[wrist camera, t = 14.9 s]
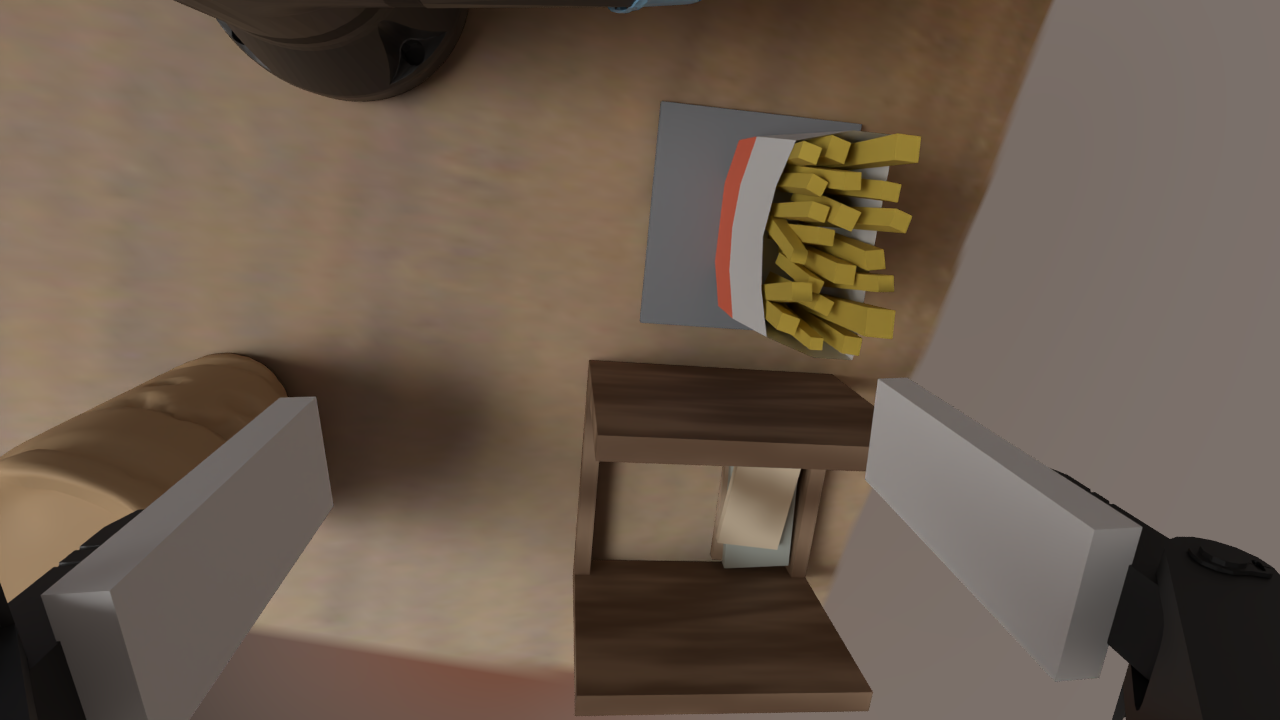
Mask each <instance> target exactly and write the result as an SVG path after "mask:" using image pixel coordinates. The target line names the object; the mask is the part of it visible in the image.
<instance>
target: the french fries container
mask: <svg viewBox="0 0 1280 720" xmlns="http://www.w3.org/2000/svg"><path fill="white" fill-rule="evenodd" d="M920 142H921V137H920V136H913V135H905V134H898V133H897V134H893V135H891V134H882V133H872V132H863V131H854V130H853V131H837V132H821V133H805V134H789V135H773V136H757V137H752V138H747V139H742V140H739V142H738V145H737V148H736V151H735V154H734V157H733V160H732V163H731V166H730V169H729V172H728V175H727V178H726V180H725V184H724V192H723V200H722V208H721V217H720V225H719V233H718V241H717V249H716V258H715V269H716V282H717V296H718V306H719V307H720V308H721V309H722V310H723V311H725V312H726V313H727V314H728V315H729V316H730V317H731V318H733V319H734V320H736V321H738V322H740V323H742V324H744V325H746V326H747V327H749V328H751V329H753V330H755V331H757V332H758V333H760V334H762V335H764V336H766V337H768V338H770V339H772V340H775V341H777V342H779V343H782V344H784V345H786V346H788V347H791V348H793V349H795V350H798V351H800V352H802V353H804V354H807V355H809V356H811V357H813V358H827V359H843V360H853V355H857V356H859V353H860V348H861V343H862V338H861V337H859V336H857V334H861V335H863V336H867V337H877V338H886V339H892V337H893V328H894V319H895V310H890V309H886V308H882V307H878V306H873V305H869V304H865V303H863V302H864V297H865V292H866V291H872V292H894V276H893V275H883V274H873V273H869V271H870V270H879V269H886V268H885V258H884V249H881V248H878V247H875V246H874V245H875V239H876V234H877V231H884V232H896V233H906V231H907V228H908V226H909V223H910V221H911V218H912V216H911V215H909V214H907V213H905V212H903V211H900V210H898V209H893V208H882V203H883V201H889V202H897V203H898V198H899V194H900V189H901V185H902V184H897V183H892V182H888V181H887V176H888V171H889V166H893V165H902V164H912V163H918V159H919V150H920Z"/></svg>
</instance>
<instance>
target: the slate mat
mask: <svg viewBox="0 0 1280 720" xmlns="http://www.w3.org/2000/svg"><path fill="white" fill-rule="evenodd" d="M861 126H862V124H854V123H846V122H837V121H828V120H820V119H811V118H802V117H794V116H785V115H776V114H768V113H759V112H751V111H742V110H733V109H725V108H716V107H707V106H699V105H690V104H681V103H673V102H664V101H662V102H661V104H660V115H659V125H658V136H657V146H656V157H655V167H654V177H653V188H652V198H651V209H650V219H649V230H648V240H647V250H646V261H645V271H644V282H643V292H642V303H641V313H640V322H641V323H655V324H670V325H685V326H700V327H714V328H729V329H744V330H753V329H751V328H749V327H747V326H746V325H744V324H742V323H740V322H738V321H736V320H734V319H733V318H731V317H730V316H729V315H728V314H727V313H726V312H725V311H723V310H722V309H721V308H720V307H719V306H718V296H717V282H716V269H715V258H716V249H717V241H718V233H719V225H720V217H721V208H722V200H723V192H724V184H725V180H726V178H727V175H728V172H729V169H730V166H731V163H732V160H733V157H734V154H735V151H736V148H737V145H738V142H739V140H742V139H747V138H752V137H757V136H773V135H789V134H805V133H821V132H837V131H853V130H854V131H861Z"/></svg>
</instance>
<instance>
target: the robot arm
mask: <svg viewBox="0 0 1280 720" xmlns="http://www.w3.org/2000/svg"><path fill="white" fill-rule="evenodd" d="M174 1H177V2H179V3H181V4H184V5H186V6H188V7H191V8H193V9H195V10H198V11H200V12H202V13H205V14H207V15H209V16H212V17H214V18H216V19H217V21H218V22H219V24H220V25H221V26H222V28H223V29H224V30H225V32H226V33H227V34H228V35H229V37H230V38H231V39H232V40H233V41H234V42H235V43H236V44H237V45H238V46H239V48H240V49H241V50H243V51H244V52H245V53H246V54H247V55H248V56H249V57H250V58H251V59H253V60H254V61H255V62H256V63H258V64H259V65H260V66H262V67H263V68H264V69H266V70H267V71H269V72H270V73H272V74H273V75H275V76H277V77H278V78H280V79H282V80H284V81H285V82H287V83H289V84H292V85H294V86H296V87H298V88H301V89H304V90H306V91H309V92H312V93H315V94H319V95H322V96H325V97H329V98H333V99H338V100H345V101H374V100H380V99H385V98H389V97H393V96H396V95H399V94H401V93H404V92H406V91H408V90H410V89H412V88H414V87H416V86H417V85H419V84H420V83H422V82H423V81H425V80H426V79H427V78H428V77H430V76H431V75H432V74H433V73H434V72H435V71H436V70H437V69H438V68H439V67H440V66H441V65H442V64H443V63H444V61H445V60H446V59H447V57H448V56H449V55H450V53H451V52H452V50H453V48H454V47H455V45H456V43H457V41H458V39H459V37H460V34H461V32H462V30H463V27H464V24H465V21H466V17H467V13H468V8H540V7H608V9H609V10H611V11H612V12H616V13H630V12H631V11H635V10H639V9H641V8H642V7H650V6H668V5H686V4H693V3H696V2H699V1H701V0H174ZM865 480H866V481H867V482H868V483H869V484H870V485H871V486H872V487H873V488H874V489H875V491H877V493H878V494H879V495H880V496H881V497H882V498H883V499H884V500H885V501H886V502H887V503H888V504H889V505H890V506H891V508H892V509H893V510H894V511H895V512H896V513H897V514H898V515H899V516H900V517H901V518H902V519H903V520H904V521H905V523H906V524H907V525H908V526H909V527H910V528H911V529H912V530H913V531H914V532H915V533H916V534H917V535H918V536H919V537H920V538H921V540H922V541H923V542H924V543H925V544H926V545H927V546H928V547H929V548H930V549H931V550H932V551H933V552H934V553H935V555H936V556H937V557H938V558H939V559H940V560H941V561H942V562H943V563H944V564H945V565H946V566H947V567H948V568H949V569H950V571H951V572H952V573H953V574H954V575H955V576H956V577H957V578H958V579H959V580H960V581H961V582H962V583H963V584H964V585H965V586H966V588H967V589H968V590H969V591H970V592H971V593H972V594H973V595H974V596H975V597H976V598H977V599H978V600H979V601H980V602H981V604H982V605H983V606H984V607H985V608H986V609H987V610H988V611H989V612H990V613H991V614H992V615H993V616H994V617H995V618H996V619H997V621H998V622H999V623H1000V624H1001V625H1002V626H1003V627H1004V628H1005V629H1006V630H1007V631H1008V632H1009V633H1010V634H1011V636H1012V637H1013V638H1014V639H1015V640H1016V641H1017V642H1018V643H1019V644H1020V645H1021V646H1022V647H1023V648H1024V649H1025V650H1026V652H1027V653H1028V654H1029V655H1030V656H1031V657H1032V658H1033V659H1034V660H1035V661H1036V662H1037V663H1038V664H1039V665H1040V666H1041V667H1042V669H1044V671H1045V672H1046V673H1047V674H1048V675H1049V676H1050V677H1051V678H1052V679H1053V680H1054V681H1055V682H1058V681H1059V682H1060V681H1071V680H1082V679H1093V678H1099V677H1100V674H1101V670H1102V667H1103V663H1104V660H1105V656H1106V653H1107V649H1108V646H1109V645H1110V646H1111V647H1112V648H1113V649H1114V650H1115V651H1116V652H1117V653H1119V654H1120V655H1121V656H1122V657H1123V658H1124V659H1125V660H1126V661H1127V662H1128V663H1129V666H1128V669H1127V672H1126V676H1125V679H1124V682H1123V685H1122V689H1121V692H1120V696H1119V699H1118V702H1117V705H1116V709H1115V712H1114V715H1113V718H1112V720H1123V718H1124V717H1126V720H1280V574H1279V573H1278V572H1277V571H1276V570H1275V569H1274V568H1273V567H1271V566H1270V565H1268V564H1267V563H1265V562H1264V561H1262V560H1261V559H1259V558H1258V557H1256V556H1253V555H1251V554H1249V553H1247V552H1245V551H1242V550H1240V549H1238V548H1235V547H1232V546H1229V545H1226V544H1222V543H1219V542H1216V541H1212V540H1207V539H1202V538H1195V537H1175V538H1172V539H1169V538H1167V537H1166V536H1164V535H1162V534H1161V533H1159V532H1158V531H1156V530H1154V529H1153V528H1151V527H1150V526H1148V525H1146V524H1145V523H1143V522H1142V521H1140V520H1139V519H1137V518H1135V517H1134V516H1132V515H1131V514H1129V513H1127V512H1125V511H1124V510H1123V509H1121V508H1119V507H1118V506H1116V505H1114V504H1109V501H1108V500H1106V499H1105V498H1103V497H1102V496H1100V495H1099V494H1097V493H1095V492H1091V491H1090V489H1089V488H1087V487H1086V486H1084V485H1083V484H1081V483H1079V482H1078V481H1076V480H1074V479H1073V478H1071V477H1070V476H1068V475H1066V474H1064V473H1061V472H1059V471H1056V470H1054V469H1051V468H1049V467H1047V466H1046V465H1044V464H1043V463H1041V462H1039V461H1038V460H1036V459H1035V458H1033V457H1032V456H1030V455H1028V454H1027V453H1025V452H1024V451H1022V450H1021V449H1019V448H1017V447H1016V446H1014V445H1013V444H1011V443H1010V442H1008V441H1006V440H1005V439H1003V438H1002V437H1000V436H999V435H997V434H995V433H994V432H992V431H991V430H989V429H987V428H986V427H984V426H983V425H981V424H980V423H978V422H976V421H975V420H973V419H972V418H970V417H969V416H967V415H965V414H964V413H962V412H961V411H959V410H958V409H956V408H954V407H953V406H951V405H950V404H948V403H946V402H945V401H943V400H942V399H940V398H939V397H937V396H935V395H934V394H932V393H931V392H929V391H928V390H926V389H925V388H923V387H921V386H920V385H918V384H917V383H915V382H914V381H912V380H910V379H909V378H883V379H878V383H877V390H876V398H875V406H874V413H873V421H872V429H871V437H870V444H869V452H868V460H867V467H866V475H865ZM333 506H334V505H333V499H332V492H331V486H330V480H329V474H328V467H327V461H326V455H325V449H324V442H323V436H322V430H321V424H320V417H319V411H318V405H317V399H316V397H285V398H279V399H278V400H276V401H275V402H274V403H273V404H272V405H270V406H269V407H268V408H267V409H265V410H264V411H263V412H262V413H261V414H259V415H258V416H257V417H256V418H255V419H253V420H252V421H251V422H250V423H249V424H247V425H246V426H245V427H244V428H242V429H241V430H240V431H239V432H238V433H236V434H235V435H234V436H233V437H232V438H230V439H229V440H228V441H227V442H225V443H224V444H223V445H222V446H221V447H219V448H218V449H217V450H216V451H215V452H213V453H212V454H211V455H210V456H209V457H207V458H206V459H205V460H204V461H202V462H201V463H200V464H199V465H198V466H196V467H195V468H194V469H193V470H192V471H190V472H189V473H188V474H187V475H186V476H184V477H183V478H182V479H181V480H179V481H178V482H177V483H176V484H175V485H173V486H172V487H171V488H170V489H169V490H167V491H166V492H165V493H164V494H163V495H161V496H160V497H159V498H158V499H156V500H155V501H154V502H153V503H152V504H150V505H149V506H148V507H147V508H146V509H139V510H136V511H134V512H132V513H130V514H129V515H127V516H125V517H123V518H121V519H119V520H117V521H115V522H113V523H111V524H109V525H107V526H105V527H103V528H102V529H101V530H100V531H98V532H97V533H96V534H95V535H93V536H92V537H91V538H90V539H88V540H87V541H86V542H84V543H83V544H82V545H81V546H80V549H79V550H74V551H73V552H72V553H71V554H69V555H68V556H67V557H66V558H64V559H63V560H62V561H60V562H59V566H58V567H53V568H52V569H50V570H49V571H48V572H47V573H45V574H44V575H43V576H42V577H40V578H39V579H38V580H36V581H35V582H34V583H33V584H31V585H30V586H29V587H28V588H26V589H25V590H24V591H23V592H21V593H20V594H19V595H18V596H16V597H15V598H14V599H12V600H11V601H10V602H9V603H7V600H6V597H5V594H4V591H3V589H2V586H1V583H0V720H189V719H190V718H191V716H192V715H193V713H194V712H195V711H196V709H197V707H198V706H199V705H200V703H201V702H202V700H203V698H204V697H205V695H206V694H207V693H208V691H209V690H210V688H211V687H212V685H213V684H214V682H215V681H216V679H217V678H218V677H219V675H220V674H221V672H222V671H223V669H224V668H225V666H226V665H227V663H228V662H229V660H230V659H231V657H232V656H233V654H234V653H235V651H236V650H237V648H238V647H239V645H240V644H241V642H242V641H243V639H244V638H245V636H246V635H247V634H248V632H249V631H250V629H251V628H252V626H253V625H254V623H255V622H256V620H257V619H258V617H259V616H260V614H261V613H262V611H263V610H264V608H265V607H266V605H267V604H268V602H269V601H270V599H271V598H272V596H273V595H274V594H275V592H276V591H277V589H278V588H279V586H280V585H281V583H282V582H283V580H284V579H285V577H286V576H287V574H288V573H289V571H290V570H291V568H292V567H293V565H294V564H295V562H296V561H297V559H298V558H299V556H300V555H301V554H302V552H303V551H304V549H305V548H306V546H307V545H308V543H309V542H310V540H311V539H312V537H313V536H314V534H315V533H316V531H317V530H318V528H319V527H320V525H321V524H322V522H323V521H324V519H325V518H326V516H327V515H328V513H329V512H330V511H331V509H332V508H333Z"/></svg>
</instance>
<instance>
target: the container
mask: <svg viewBox="0 0 1280 720" xmlns="http://www.w3.org/2000/svg"><path fill="white" fill-rule="evenodd" d="M285 397H287V394H286V391H285V388H284V387H283V386H282V384H281V383H280V382H279V381H278V379H277V378H276V376H275V375H274V374H273V373H272V372H271V371H270V370H269V369H268V368H267V367H266V366H265V365H263V364H262V363H259V362H257V361H255V360H253V359H252V358H250V357H246V356H240V355H237V354H233V353H221V354H211V355H207V356H204V357H202V358H199V359H196V360H193V361H189V362H187V363H185V364H183V365H180V366H178V367H176V368H173V369H172V370H170V371H168V372H166V373H164V374H161V375H159V376H157V377H155V378H153V379H151V380H149V381H147V382H145V383H143V384H141V385H139V386H137V387H135V388H133V389H131V390H129V391H127V392H125V393H123V394H121V395H119V396H117V397H115V398H112V399H110V400H108V401H106V402H104V403H102V404H100V405H98V406H96V407H94V408H92V409H90V410H88V411H86V412H84V413H83V414H80V415H78V416H76V417H74V418H72V419H70V420H68V421H66V422H64V423H62V424H60V425H58V426H55V427H53V428H51V429H50V430H48V431H46V432H44V433H42V434H40V435H38V436H36V437H34V438H32V439H30V440H28V441H26V442H24V443H22V444H20V445H18V446H16V447H15V448H13V449H12V450H10V451H9V452H7V453H6V454H4V455H3V456H1V457H0V583H1V586H2V589H3V591H4V594H5V597H6V600H7V603H9V602H10V601H11V600H12V599H14V598H15V597H16V596H18V595H19V594H20V593H21V592H23V591H24V590H25V589H26V588H28V587H29V586H30V585H31V584H33V583H34V582H35V581H36V580H38V579H39V578H40V577H42V576H43V575H44V574H45V573H47V572H48V571H49V570H50V569H52V568H53V567H58V566H59V562H60V561H62V560H63V559H64V558H66V557H67V556H68V555H69V554H71V553H72V552H73V551H74V550H79V549H80V546H81V545H82V544H83V543H84V542H86V541H87V540H88V539H90V538H91V537H92V536H93V535H95V534H96V533H97V532H98V531H100V530H101V529H102V528H103V527H105V526H107V525H109V524H111V523H113V522H115V521H117V520H119V519H121V518H123V517H125V516H127V515H129V514H130V513H132V512H134V511H136V510H139V509H146V508H147V507H148V506H149V505H150V504H152V503H153V502H154V501H155V500H156V499H158V498H159V497H160V496H161V495H163V494H164V493H165V492H166V491H167V490H169V489H170V488H171V487H172V486H173V485H175V484H176V483H177V482H178V481H179V480H181V479H182V478H183V477H184V476H186V475H187V474H188V473H189V472H190V471H192V470H193V469H194V468H195V467H196V466H198V465H199V464H200V463H201V462H202V461H204V460H205V459H206V458H207V457H209V456H210V455H211V454H212V453H213V452H215V451H216V450H217V449H218V448H219V447H221V446H222V445H223V444H224V443H225V442H227V441H228V440H229V439H230V438H232V437H233V436H234V435H235V434H236V433H238V432H239V431H240V430H241V429H242V428H244V427H245V426H246V425H247V424H249V423H250V422H251V421H252V420H253V419H255V418H256V417H257V416H258V415H259V414H261V413H262V412H263V411H264V410H265V409H267V408H268V407H269V406H270V405H272V404H273V403H274V402H275V401H276V400H278V399H279V398H285Z"/></svg>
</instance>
